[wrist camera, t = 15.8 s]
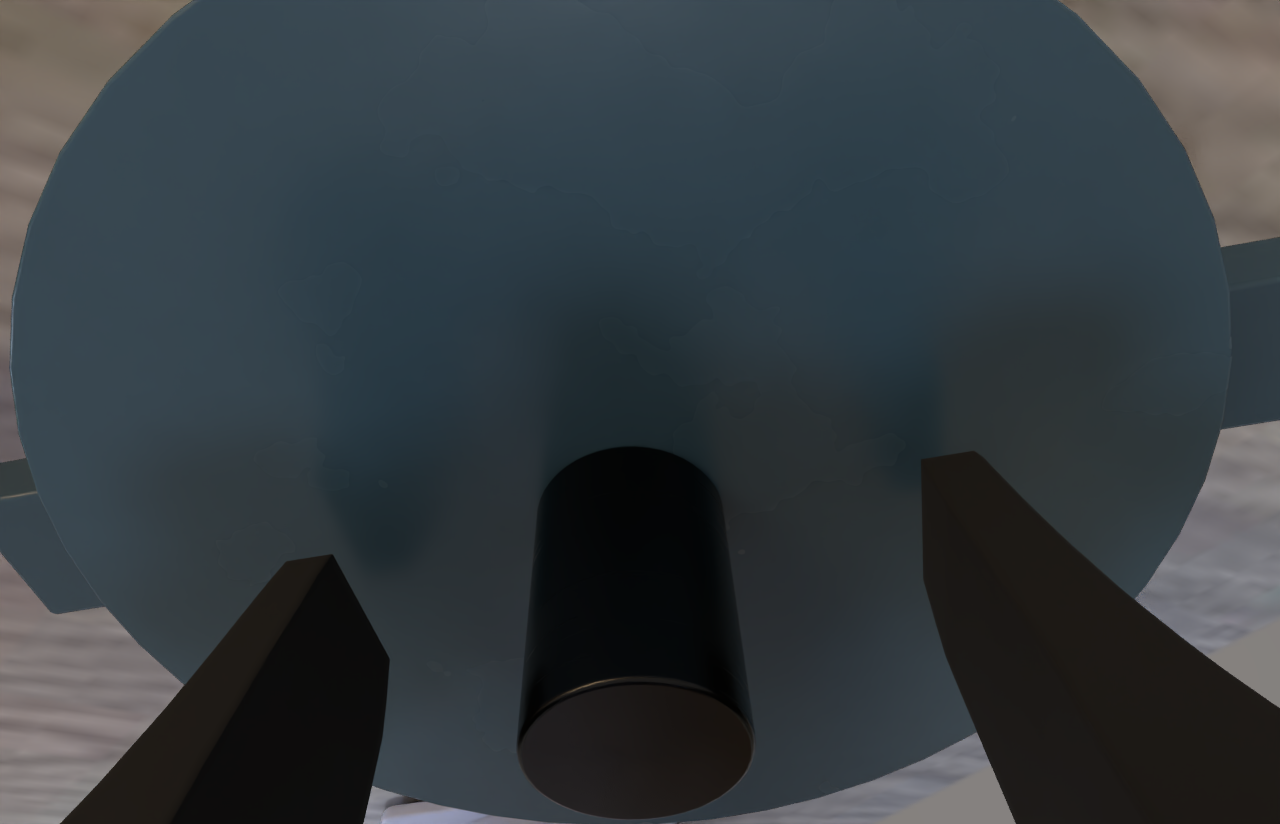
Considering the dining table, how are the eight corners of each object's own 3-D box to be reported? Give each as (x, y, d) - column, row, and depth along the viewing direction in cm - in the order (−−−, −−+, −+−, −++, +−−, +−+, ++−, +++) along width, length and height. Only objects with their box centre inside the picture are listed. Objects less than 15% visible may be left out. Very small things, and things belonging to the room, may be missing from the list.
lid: (1119, 708, 17) (1262, 990, 13) (326, 815, 18) (254, 1097, 15) (1310, -332, 8) (1899, -365, 4) (-245, 22, 9) (-789, 226, 6)
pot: (1125, 486, 20) (1269, 702, 16) (282, 616, 22) (201, 844, 18) (1245, -295, 12) (1604, -296, 8) (-97, 10, 14) (-423, 150, 10)
